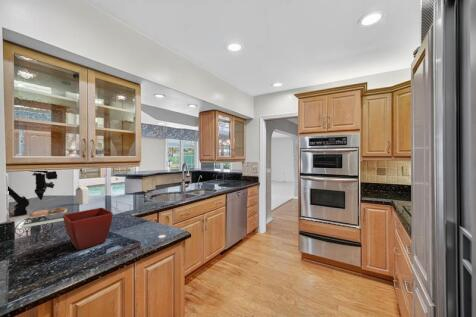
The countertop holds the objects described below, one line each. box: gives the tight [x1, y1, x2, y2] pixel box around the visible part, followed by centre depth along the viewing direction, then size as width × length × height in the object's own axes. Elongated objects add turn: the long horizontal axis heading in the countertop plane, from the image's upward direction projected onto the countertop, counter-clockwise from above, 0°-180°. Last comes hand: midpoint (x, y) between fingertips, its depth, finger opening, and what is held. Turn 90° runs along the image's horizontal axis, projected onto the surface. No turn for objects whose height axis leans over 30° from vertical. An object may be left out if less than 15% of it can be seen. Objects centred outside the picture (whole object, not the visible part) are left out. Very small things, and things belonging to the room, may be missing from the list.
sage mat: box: [21, 216, 64, 229], centre depth 154 cm, size 26×22×1 cm
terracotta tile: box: [32, 208, 49, 218], centre depth 161 cm, size 8×10×2 cm
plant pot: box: [62, 207, 114, 251], centre depth 114 cm, size 19×19×17 cm
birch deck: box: [28, 208, 68, 219], centre depth 165 cm, size 22×14×2 cm, turn 131°
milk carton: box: [75, 184, 90, 205], centre depth 195 cm, size 7×7×19 cm
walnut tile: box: [50, 206, 65, 215], centre depth 168 cm, size 8×10×2 cm
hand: (41, 198), depth 169 cm, fingers open, 8 cm apart
